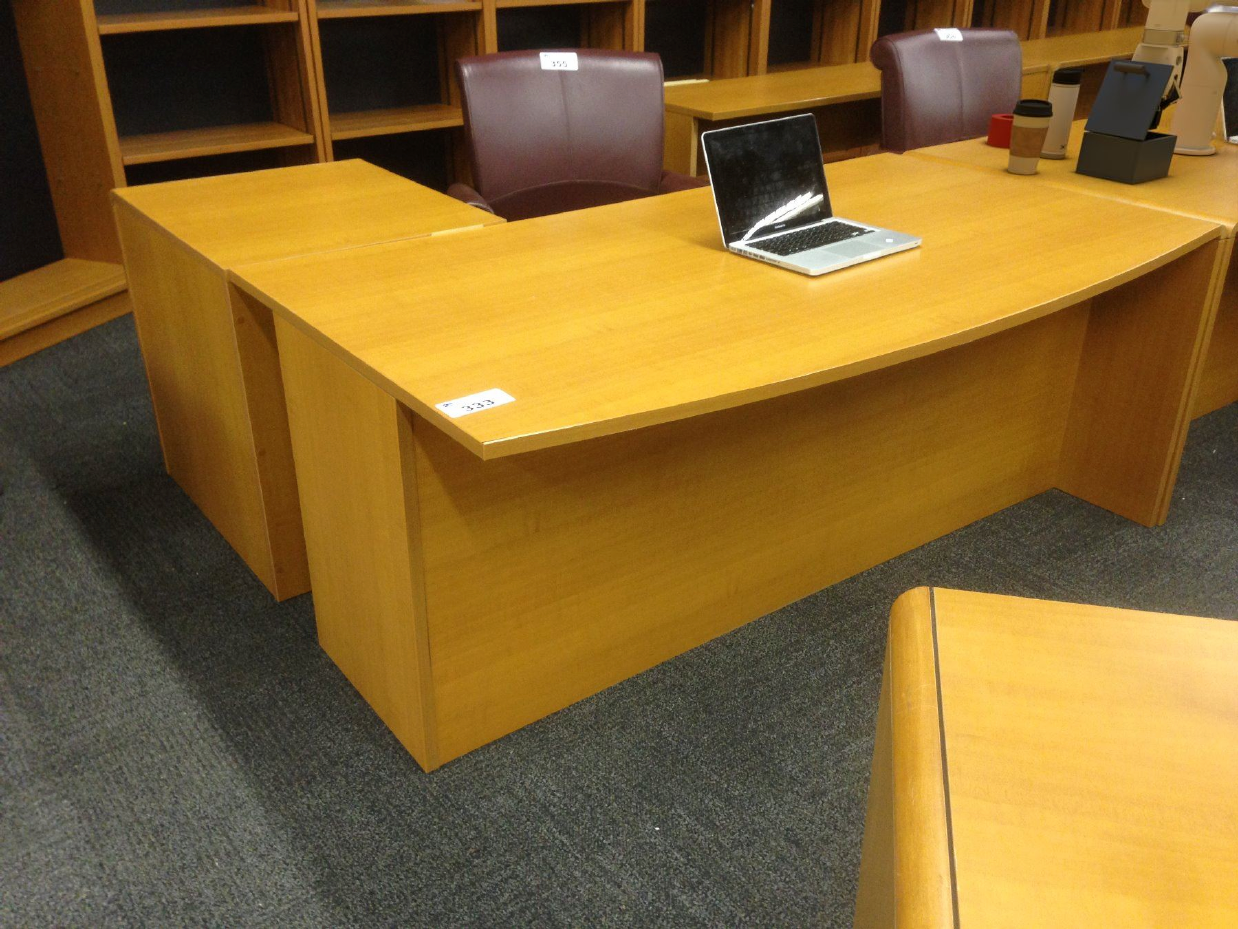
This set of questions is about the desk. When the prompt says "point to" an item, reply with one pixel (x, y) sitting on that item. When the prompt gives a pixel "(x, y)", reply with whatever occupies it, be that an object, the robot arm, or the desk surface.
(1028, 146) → the coffee cup
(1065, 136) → the travel mug
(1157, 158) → the dark grey hollow box
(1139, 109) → the lid
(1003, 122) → the lever
